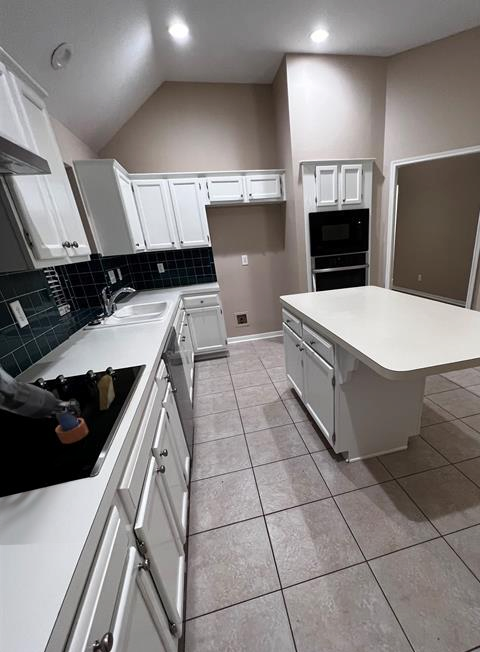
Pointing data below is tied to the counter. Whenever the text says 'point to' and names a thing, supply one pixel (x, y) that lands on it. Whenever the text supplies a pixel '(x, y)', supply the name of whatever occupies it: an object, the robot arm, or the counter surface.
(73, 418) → the blue cylinder
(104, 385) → the rock
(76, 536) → the counter surface
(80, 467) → the counter surface
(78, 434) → the ring
